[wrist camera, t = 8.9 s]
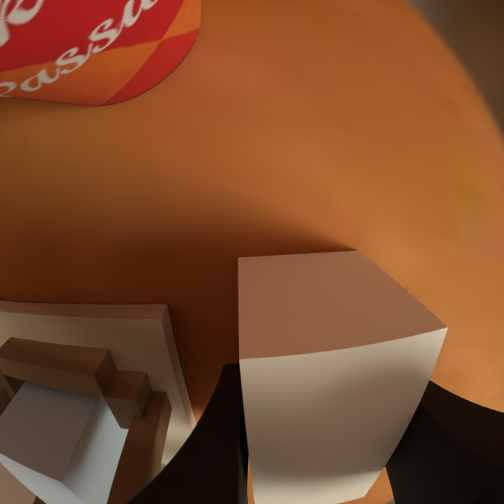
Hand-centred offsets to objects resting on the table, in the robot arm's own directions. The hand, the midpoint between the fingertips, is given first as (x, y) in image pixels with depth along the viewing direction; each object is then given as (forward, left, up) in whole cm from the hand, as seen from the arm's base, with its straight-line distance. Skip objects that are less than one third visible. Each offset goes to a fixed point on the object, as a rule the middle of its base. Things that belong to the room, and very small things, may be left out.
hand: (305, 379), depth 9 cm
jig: (-5, +10, -1) cm, 11 cm away
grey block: (-4, +9, 0) cm, 10 cm away
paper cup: (+12, +6, -2) cm, 13 cm away
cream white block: (0, 0, -2) cm, 2 cm away
